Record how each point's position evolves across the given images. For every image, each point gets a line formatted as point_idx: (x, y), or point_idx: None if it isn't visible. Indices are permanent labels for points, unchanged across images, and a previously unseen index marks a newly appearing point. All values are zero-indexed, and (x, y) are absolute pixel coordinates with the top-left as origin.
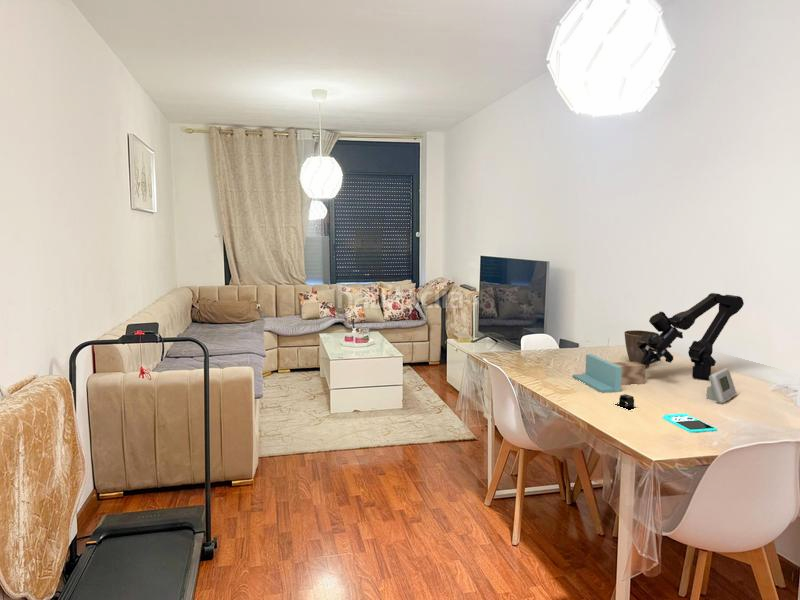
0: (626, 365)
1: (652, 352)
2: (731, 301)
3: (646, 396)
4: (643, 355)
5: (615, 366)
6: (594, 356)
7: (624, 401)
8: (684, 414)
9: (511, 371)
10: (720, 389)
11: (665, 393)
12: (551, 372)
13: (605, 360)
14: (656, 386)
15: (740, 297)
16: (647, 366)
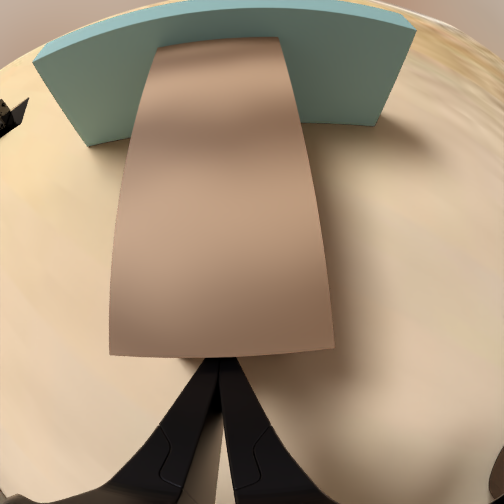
0: (159, 144)
1: (13, 496)
2: None
3: (10, 223)
4: (294, 463)
5: (59, 40)
6: (343, 8)
7: (2, 119)
8: None
9: (391, 11)
10: None
11: (11, 337)
12: (408, 57)
13: (207, 8)
14: (111, 390)
15: None
16: (492, 493)
